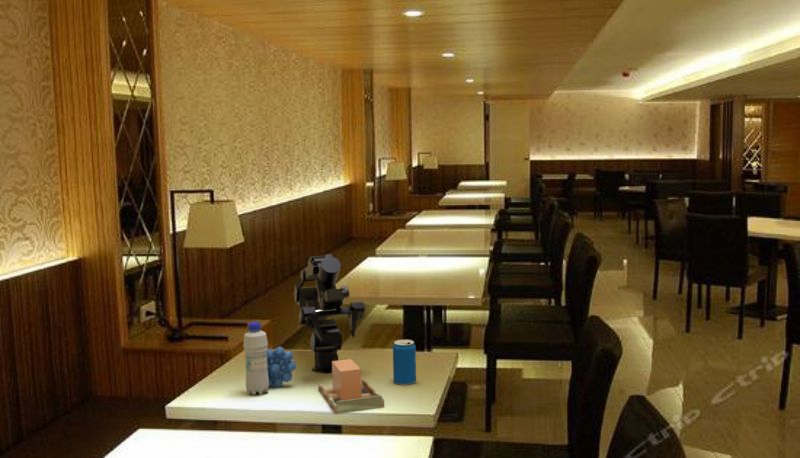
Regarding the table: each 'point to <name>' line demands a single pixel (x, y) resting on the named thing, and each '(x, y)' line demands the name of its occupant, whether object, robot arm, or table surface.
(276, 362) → the grapes
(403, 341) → the beverage can
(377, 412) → the table surface
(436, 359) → the table surface
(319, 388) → the box
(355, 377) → the brick
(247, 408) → the table surface
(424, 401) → the table surface
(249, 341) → the bottle
